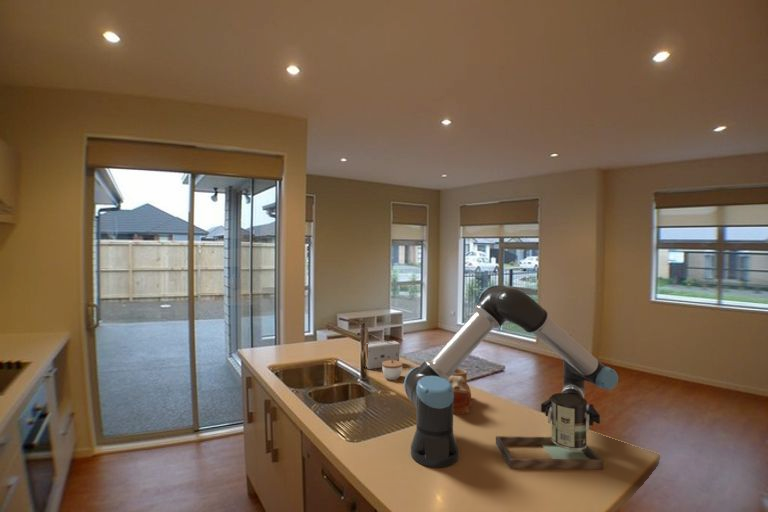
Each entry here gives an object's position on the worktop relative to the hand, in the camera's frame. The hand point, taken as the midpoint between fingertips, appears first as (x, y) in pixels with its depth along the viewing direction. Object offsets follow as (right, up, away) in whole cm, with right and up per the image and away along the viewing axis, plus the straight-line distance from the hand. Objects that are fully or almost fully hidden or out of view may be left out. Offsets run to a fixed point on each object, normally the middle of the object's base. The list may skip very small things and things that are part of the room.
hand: (567, 422), depth 116 cm
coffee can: (+2, -8, +4) cm, 9 cm away
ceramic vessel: (-27, -12, +43) cm, 52 cm away
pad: (+2, -12, +4) cm, 13 cm away
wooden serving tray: (-5, -12, +4) cm, 14 cm away
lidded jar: (-53, -11, +77) cm, 94 cm away
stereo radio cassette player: (-59, -11, +97) cm, 114 cm away
